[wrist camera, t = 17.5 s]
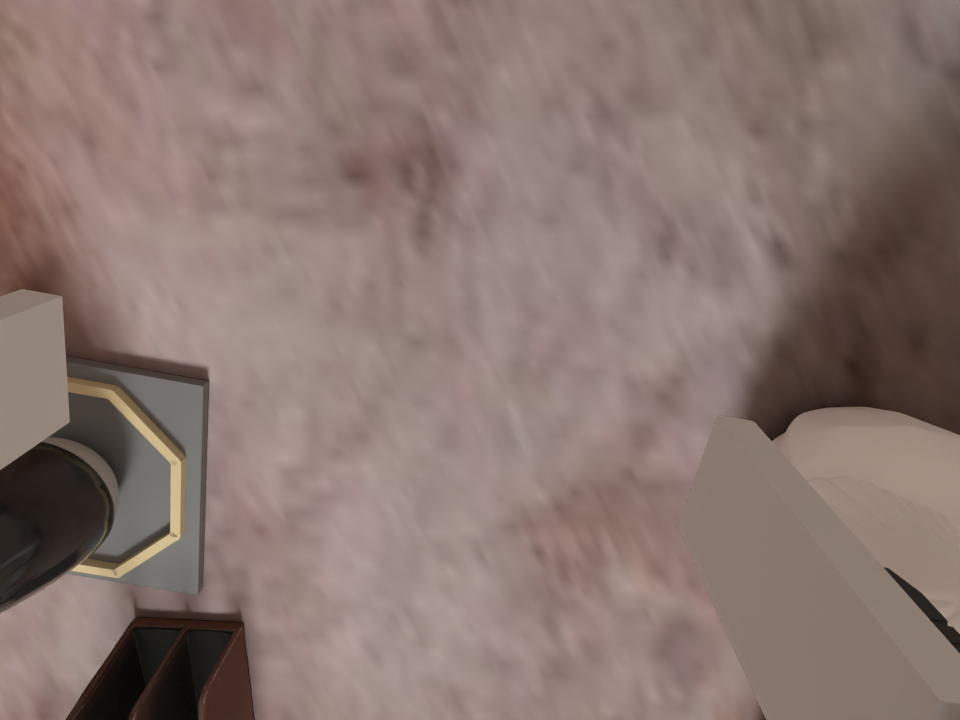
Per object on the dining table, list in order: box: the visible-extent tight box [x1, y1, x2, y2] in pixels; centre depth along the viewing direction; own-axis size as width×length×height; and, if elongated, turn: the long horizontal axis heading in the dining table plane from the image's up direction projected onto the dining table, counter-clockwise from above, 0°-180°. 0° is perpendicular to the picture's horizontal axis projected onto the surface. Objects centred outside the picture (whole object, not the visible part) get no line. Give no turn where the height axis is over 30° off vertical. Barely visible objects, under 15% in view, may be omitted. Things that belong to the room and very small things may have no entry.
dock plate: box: [49, 356, 209, 595], centre depth 49 cm, size 20×20×2 cm
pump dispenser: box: [0, 437, 119, 613], centre depth 42 cm, size 10×10×15 cm
